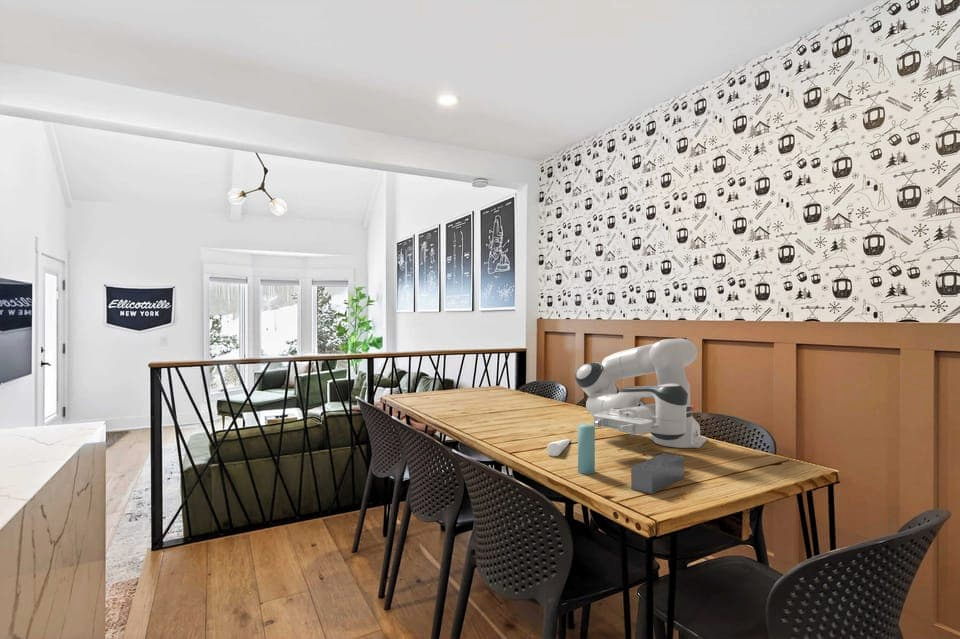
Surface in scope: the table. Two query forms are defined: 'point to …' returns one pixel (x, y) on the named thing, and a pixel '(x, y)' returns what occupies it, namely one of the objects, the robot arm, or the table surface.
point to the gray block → (657, 473)
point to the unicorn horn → (557, 447)
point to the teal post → (586, 449)
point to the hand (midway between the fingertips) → (607, 426)
